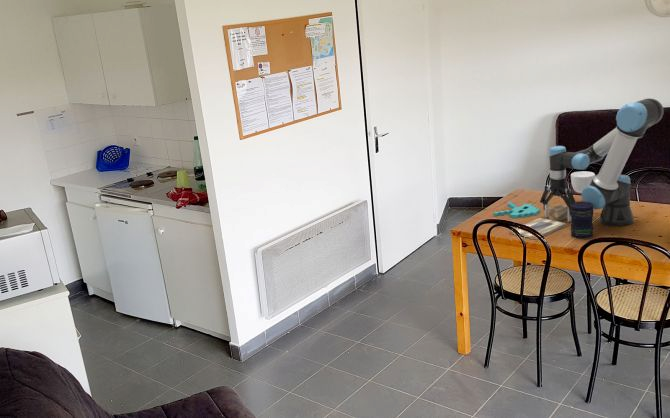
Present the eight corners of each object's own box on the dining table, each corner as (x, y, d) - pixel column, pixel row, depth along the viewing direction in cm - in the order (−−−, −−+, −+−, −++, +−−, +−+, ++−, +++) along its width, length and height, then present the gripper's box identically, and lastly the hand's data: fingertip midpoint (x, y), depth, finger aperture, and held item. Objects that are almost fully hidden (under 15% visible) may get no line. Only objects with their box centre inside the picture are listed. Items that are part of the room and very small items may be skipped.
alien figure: (493, 216, 347) (530, 220, 335) (493, 212, 346) (530, 216, 334) (508, 206, 362) (544, 209, 350) (508, 202, 361) (544, 205, 349)
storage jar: (592, 239, 299) (592, 207, 295) (569, 238, 303) (569, 207, 299) (593, 232, 308) (593, 201, 304) (571, 231, 312) (571, 201, 308)
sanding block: (568, 218, 331) (568, 205, 330) (557, 222, 326) (557, 210, 325) (559, 216, 335) (559, 204, 333) (548, 221, 330) (548, 208, 328)
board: (566, 226, 320) (566, 223, 319) (535, 240, 306) (535, 236, 306) (539, 220, 331) (539, 217, 331) (509, 233, 318) (509, 230, 317)
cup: (571, 202, 355) (570, 171, 350) (594, 202, 351) (594, 171, 346) (570, 208, 345) (570, 177, 340) (594, 208, 340) (595, 176, 336)
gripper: (584, 179, 317) (584, 221, 323) (541, 172, 336) (542, 212, 342) (575, 182, 313) (575, 225, 319) (532, 176, 332) (533, 216, 338)
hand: (558, 218), depth 331 cm, fingers open, 12 cm apart
